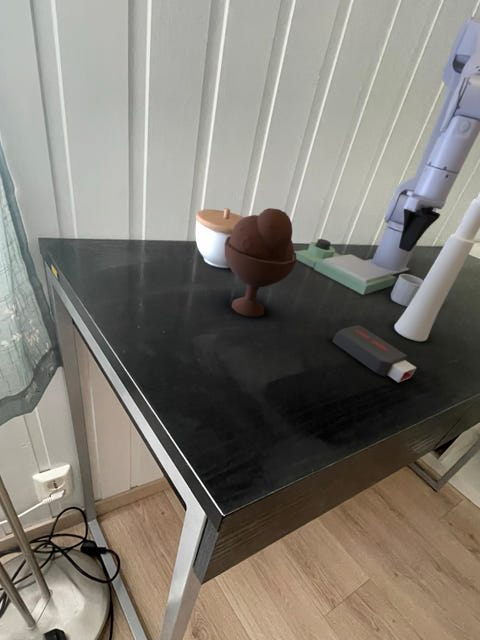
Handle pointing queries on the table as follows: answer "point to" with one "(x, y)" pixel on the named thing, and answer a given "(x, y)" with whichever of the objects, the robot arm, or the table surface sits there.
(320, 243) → the button
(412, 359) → the table surface
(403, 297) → the grey cup
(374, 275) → the scale
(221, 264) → the trinket box
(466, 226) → the cosmetic bottle
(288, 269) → the ice cream bowl
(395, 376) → the usb drive
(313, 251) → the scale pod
